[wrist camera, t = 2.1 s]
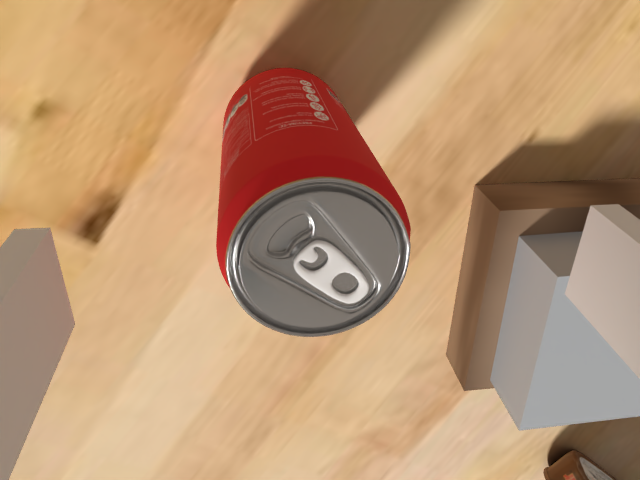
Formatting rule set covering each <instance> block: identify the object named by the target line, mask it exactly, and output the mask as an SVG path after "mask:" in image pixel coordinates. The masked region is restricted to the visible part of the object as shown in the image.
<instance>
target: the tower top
mask: <svg viewBox="0 0 640 480" xmlns="http://www.w3.org/2000/svg"><path fill="white" fill-rule="evenodd" d="M582 233H583V231H580V232H567V233H553V234H540V235H526V236H519V238H518V243H517V248H516V253H515V258H514V263H513V268H512V273H511V278H510V283H509V288H508V293H507V298H506V303H505V308H504V313H503V318H502V323H501V328H500V333H499V338H498V343H497V348H496V353H495V358H494V363H493V368H492V373H491V378H490V381H491V383H492V384H493V386H494V388H495V389H496V391H497V393H498V395H499V396H500V398H501V400H502V402H503V403H504V405H505V407H506V409H507V410H508V412H509V414H510V416H511V417H512V419H513V421H514V423H515V424H516V426H517V428H518V430H528V429H536V428H545V427H553V426H562V425H570V424H579V423H587V422H596V421H604V420H613V419H621V418H629V417H638V416H640V379H639V378H638V377H637V375H636V374H635V373H634V372H633V371H632V370H631V369H630V368H629V366H628V365H627V364H626V363H625V362H624V361H623V360H622V358H621V357H620V356H619V355H618V354H617V353H616V352H615V351H614V349H613V348H612V347H611V346H610V345H609V344H608V343H607V341H606V340H605V339H604V338H603V337H602V336H601V335H600V334H599V332H598V331H597V330H596V329H595V328H594V327H593V326H592V324H591V323H590V322H589V321H588V320H587V319H586V318H585V317H584V315H583V314H582V313H581V312H580V311H579V310H578V309H577V307H576V306H575V305H574V304H573V303H572V302H571V301H570V300H569V298H568V297H567V296H566V295H565V291H566V288H567V284H568V281H569V278H570V274H571V271H572V267H573V264H574V260H575V257H576V254H577V250H578V247H579V243H580V240H581V236H582Z"/></svg>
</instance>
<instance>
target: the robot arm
mask: <svg viewBox="0 0 640 480" xmlns="http://www.w3.org/2000/svg"><path fill="white" fill-rule="evenodd" d="M565 295H566V296H567V297H568V298H569V300H570V301H571V302H572V303H573V304H574V305H575V306H576V307H577V309H578V310H579V311H580V312H581V313H582V314H583V315H584V317H585V318H586V319H587V320H588V321H589V322H590V323H591V324H592V326H593V327H594V328H595V329H596V330H597V331H598V332H599V334H600V335H601V336H602V337H603V338H604V339H605V340H606V341H607V343H608V344H609V345H610V346H611V347H612V348H613V349H614V351H615V352H616V353H617V354H618V355H619V356H620V357H621V358H622V360H623V361H624V362H625V363H626V364H627V365H628V366H629V368H630V369H631V370H632V371H633V372H634V373H635V374H636V375H637V377H638V378H639V379H640V219H638V218H637V217H635V216H634V215H633V214H631V213H630V212H629V211H627V210H626V209H625V208H623V207H622V206H620V205H619V204H610V205H591V206H590V209H589V213H588V216H587V219H586V223H585V226H584V230H583V233H582V236H581V240H580V243H579V247H578V250H577V254H576V257H575V260H574V264H573V267H572V271H571V274H570V278H569V281H568V284H567V288H566V291H565ZM74 325H75V321H74V318H73V314H72V310H71V306H70V302H69V298H68V295H67V291H66V287H65V283H64V279H63V275H62V272H61V268H60V264H59V260H58V256H57V253H56V249H55V245H54V241H53V237H52V233H51V230H50V228H31V229H14V230H13V232H12V233H11V234H10V236H9V237H8V238H7V240H6V241H5V242H4V243H3V245H2V246H1V247H0V480H9V478H10V475H11V473H12V471H13V468H14V466H15V464H16V461H17V459H18V457H19V454H20V452H21V450H22V447H23V445H24V442H25V440H26V438H27V435H28V433H29V431H30V428H31V426H32V424H33V421H34V419H35V417H36V414H37V412H38V410H39V407H40V405H41V403H42V400H43V398H44V396H45V393H46V391H47V389H48V386H49V384H50V382H51V379H52V377H53V375H54V372H55V370H56V368H57V365H58V363H59V361H60V358H61V356H62V354H63V351H64V349H65V346H66V344H67V342H68V339H69V337H70V335H71V332H72V330H73V328H74Z"/></svg>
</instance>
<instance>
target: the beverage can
mask: <svg viewBox="0 0 640 480" xmlns="http://www.w3.org/2000/svg"><path fill="white" fill-rule="evenodd" d="M410 230H411V228H410V223H409V219H408V216H407V212H406V209H405V207H404V204H403V202H402V200H401V198H400V196H399V195H398V193H397V192H396V190H395V188H394V187H393V185H392V184H391V182H390V180H389V179H388V177H387V176H386V174H385V172H384V171H383V169H382V168H381V166H380V165H379V163H378V161H377V160H376V158H375V157H374V155H373V153H372V152H371V150H370V149H369V147H368V145H367V144H366V142H365V141H364V139H363V137H362V136H361V134H360V133H359V131H358V129H357V128H356V126H355V125H354V123H353V122H352V120H351V118H350V117H349V115H348V114H347V112H346V110H345V109H344V107H343V106H342V104H341V102H340V101H339V99H338V98H337V96H336V95H335V93H334V92H333V91H332V89H331V88H330V87H329V86H328V85H327V84H326V83H325V82H323V81H322V80H321V79H319V78H318V77H316V76H315V75H313V74H310V73H308V72H306V71H302V70H299V69H293V68H277V69H271V70H267V71H264V72H262V73H259V74H257V75H255V76H253V77H252V78H250V79H249V80H247V81H246V82H245V83H244V84H243V85H242V86H241V87H240V88H239V89H238V90H237V91H236V92H235V94H234V95H233V97H232V98H231V100H230V102H229V104H228V107H227V109H226V113H225V117H224V124H223V140H222V157H221V174H220V191H219V208H218V225H217V244H216V247H217V257H218V262H219V267H220V269H221V272H222V275H223V277H224V279H225V281H226V283H227V284H228V286H229V287H230V289H231V291H232V293H233V295H234V297H235V299H236V300H237V302H238V303H239V305H240V306H241V307H242V308H243V309H244V310H245V311H246V312H247V313H248V314H249V315H250V316H251V317H252V318H253V319H255V320H256V321H257V322H259V323H261V324H262V325H264V326H266V327H268V328H270V329H272V330H275V331H278V332H281V333H284V334H288V335H293V336H302V337H319V336H327V335H333V334H337V333H340V332H344V331H347V330H349V329H352V328H354V327H356V326H358V325H360V324H362V323H364V322H366V321H367V320H369V319H370V318H372V317H373V316H375V315H376V314H377V313H378V312H380V311H381V310H382V309H383V308H384V307H385V306H386V305H387V304H388V303H389V302H390V300H391V299H392V298H393V297H394V295H395V294H396V293H397V291H398V289H399V288H400V286H401V284H402V282H403V279H404V277H405V274H406V271H407V267H408V262H409V256H410Z"/></svg>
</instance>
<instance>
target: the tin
mask: <svg viewBox="0 0 640 480" xmlns="http://www.w3.org/2000/svg"><path fill="white" fill-rule="evenodd" d="M544 476H545V479H546V480H616V479H615V478H613V477H612V476H611V475H610V474H608V473H607V472H606V471H604V470H603V469H602V468H601V467H599V466H598V465H597V464H595V463H594V462H593V461H591V460H590V459H589V458H587V457H586V456H585V455H583V454H582V453H580V452H578V451H575V450H572V451H570V452H568V453H567V454H565V455H564V456H563V457H562V458H560V459H559V460H558V461H556V462H555V463H554V464H553V465H551V466H550V467H547V468H545V469H544Z"/></svg>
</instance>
